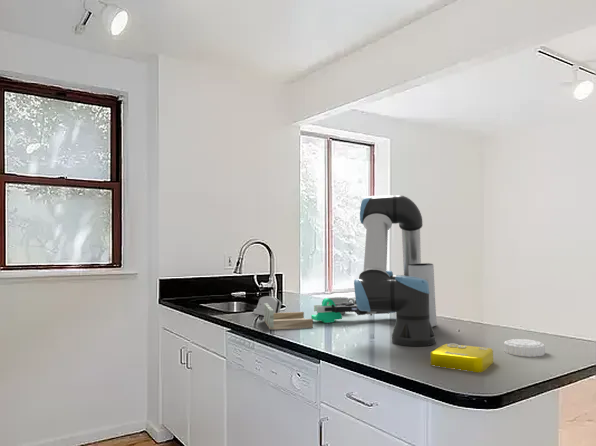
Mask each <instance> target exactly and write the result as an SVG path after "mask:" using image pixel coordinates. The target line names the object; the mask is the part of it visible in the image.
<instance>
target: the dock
mask: <svg viewBox="0 0 596 446" xmlns="http://www.w3.org/2000/svg"><path fill="white" fill-rule="evenodd" d="M263 318H264V320H263V321H264V323H265V324H266V326H267V327H268V329H269V330H270V331H271V330H291V329H292V330H294V329H311V328H313V329H314V327H313V326H314V324H313V323H314V320H313V319H311V318H305V313H304V311H293V312H292V311H290V312H280V313H273V309H272V308H271V307H270V306H269V305H268V304H267V303H265V304H264V317H263Z"/></svg>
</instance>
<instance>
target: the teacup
mask: <svg viewBox="0 0 596 446" xmlns="http://www.w3.org/2000/svg"><path fill="white" fill-rule="evenodd" d="M327 298H328V299H331V300H333V302H334V303H345V302H346V303H348V302H352V303H355V300H356V299H355V298H353V297H350V298H349V297H345V296H342V297H341V296H339V297H338V296H335V297H327ZM327 304H329V302H327ZM340 313H341V315H343V314H345V313H346V312H340Z"/></svg>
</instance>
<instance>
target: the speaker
mask: <svg viewBox="0 0 596 446" xmlns="http://www.w3.org/2000/svg"><path fill="white" fill-rule="evenodd" d="M408 267H409V276H411V277H418V278H422V279H425V280H427V281H428V284H429V292H430V294H429V310H430V323H431V326H432V328H433V327H435V326H438V325H437V324H438V323H437V309H436V308H437V307H436V305H437V304H436V292H435V289H436V288H435V272H434V271H435V269H434V267H435V266H434V263H429V262H426V263H425V262H423V263H422V262H421V263H420V264H409V265H408Z"/></svg>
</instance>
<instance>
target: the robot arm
mask: <svg viewBox="0 0 596 446" xmlns="http://www.w3.org/2000/svg"><path fill="white" fill-rule="evenodd" d="M359 210H360V211H359V222H360V224H362V225H363V227H364V228H365V229H366V231H365V243H364V244H365V247H364V256H363V257H364V260H363V271H361V272H360V273H359V276H358V278H356V279H354V280H353V286H354V296H355V297H354V300H355V303H353V301H349V302H348V303H346V302H345V303H335V305H336V306H334V305H333V304H332V307H331V306H322V304H314V305H313V311H314V312H316V313H322V312H331V311H332V312H335V313H337V312H345V313H356V315H357V316H365V315H370V316H373V315H380V314H381V315H384V314H387V315H388V314H393V313H395V314H396V321H395V323H394V324H395V325H394V327H393V331H392V333H391V342H392V343H393V344H396V345H400V346H406V347H407V346H408V347H427V346H433V345H434V344H436V335H435V331H434V329H433V327H432V326H431V323H430V310H429V294H430V292H429V284H428V281H427V280H425V279H422V278H418V277H411V276H409V267H408V265H409V264H420V263H422V258H421V252H422V251H421V229H422V227H423V216H422V213H421V210H420V209H419V206H417V204H416V203H415V202H414V201H413V200H412V199H410V198H409V197H408V196H404V195H398V194H397V195H371V196H365V197H364V198H362V200H361V202H360V207H359ZM393 224H395V225H396V224H398V225H399V228H400V229H401V239H402V263H403V264H402V265H403V266H402V267H403V274H394V273H393V271H392V270H387V269H388V268H387V265H388V240H389V239H388V235H389V233H388V232H389V230H390V229H391V227H392V225H393ZM327 305H328V304H327Z"/></svg>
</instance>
